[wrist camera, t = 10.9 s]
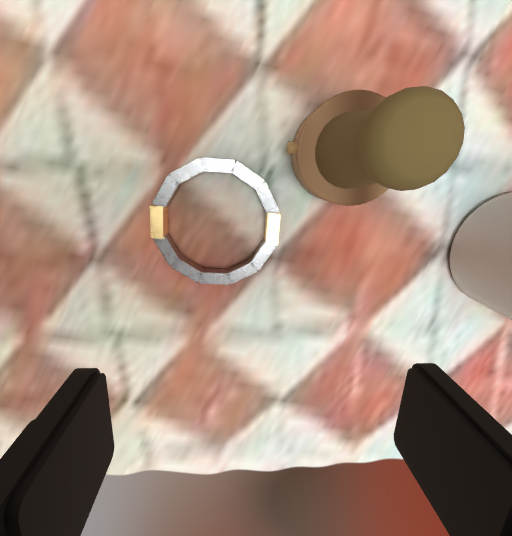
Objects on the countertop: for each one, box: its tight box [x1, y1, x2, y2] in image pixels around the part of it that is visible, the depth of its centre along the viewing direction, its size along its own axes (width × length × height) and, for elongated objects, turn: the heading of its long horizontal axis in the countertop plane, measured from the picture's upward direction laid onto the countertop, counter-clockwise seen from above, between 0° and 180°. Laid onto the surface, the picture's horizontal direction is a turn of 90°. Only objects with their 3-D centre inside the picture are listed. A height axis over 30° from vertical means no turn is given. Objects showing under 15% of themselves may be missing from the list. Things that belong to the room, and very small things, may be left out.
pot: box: [287, 90, 388, 206], centre depth 28 cm, size 11×9×5 cm
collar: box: [150, 157, 281, 285], centre depth 31 cm, size 12×12×2 cm
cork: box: [315, 86, 465, 191], centre depth 20 cm, size 6×6×11 cm
